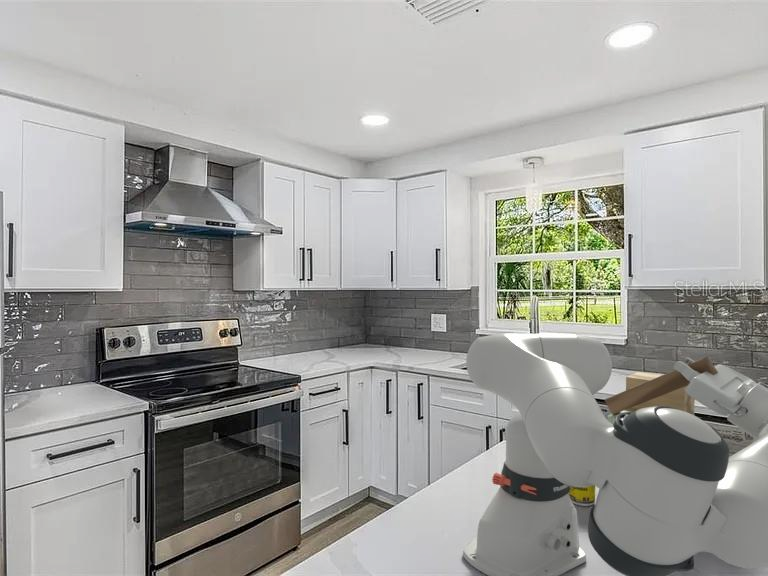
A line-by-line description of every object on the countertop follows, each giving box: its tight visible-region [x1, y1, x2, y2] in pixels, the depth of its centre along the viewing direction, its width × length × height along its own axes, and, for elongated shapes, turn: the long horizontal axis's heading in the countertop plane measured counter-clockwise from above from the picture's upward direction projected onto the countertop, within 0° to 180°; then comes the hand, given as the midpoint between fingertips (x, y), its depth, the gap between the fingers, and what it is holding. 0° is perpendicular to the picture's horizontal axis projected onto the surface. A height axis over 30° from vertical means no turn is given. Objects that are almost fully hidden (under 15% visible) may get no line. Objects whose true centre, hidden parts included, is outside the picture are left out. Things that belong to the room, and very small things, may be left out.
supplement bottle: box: [569, 485, 596, 507], centre depth 109 cm, size 6×6×10 cm
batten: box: [604, 356, 718, 415], centre depth 104 cm, size 4×22×4 cm, turn 45°
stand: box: [625, 371, 696, 416], centre depth 114 cm, size 8×12×26 cm, turn 44°
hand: (679, 361), depth 101 cm, fingers closed on batten, 3 cm apart
